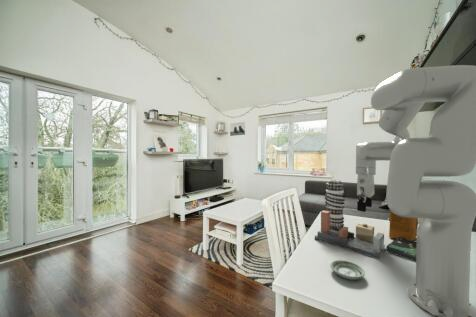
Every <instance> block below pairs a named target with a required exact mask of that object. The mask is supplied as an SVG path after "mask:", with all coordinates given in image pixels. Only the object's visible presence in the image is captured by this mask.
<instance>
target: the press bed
mask: <svg viewBox="0 0 476 317" xmlns="http://www.w3.org/2000/svg"><path fill="white" fill-rule="evenodd" d="M330 229H331V230H335V231H339V230H340V229H337V228H333V227H330ZM314 240H317V241H320V242H323V243H327V244H330V245H334V246H336V247H339V248H343V249H345V250H350V251H353V252H355V253H359V254H362V255H365V256H368V257H369V256H370V257H372V258H376V259H379V258H381V256H382V254H383V253H384V251H385V249H386V247H385V233H384V232H383V233H382V232H377V233H376V234H375V235H374V238H373V242H371V241H368V240H364V239H360V238H356V236H355V232H352V231H349V230H348V237H347V238H342V237H338V236H335V235H331V234H328V233H324V232H321V230H318V231H317V234H315V235H314Z"/></svg>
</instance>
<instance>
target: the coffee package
mask: <svg viewBox="0 0 476 317" xmlns="http://www.w3.org/2000/svg"><path fill="white" fill-rule="evenodd" d="M388 220H389V227H388V228H389V230H388V237H389V239H393V240H394V239H395V240H396V239H397V238H399V237H401V238H405V239H406V240H408V241H415V240H416V239H417V229H418V227H419V218H406V217H401V216H398V215H395V214H394V213H393V212H392V211H391V210H390V209H389V219H388Z"/></svg>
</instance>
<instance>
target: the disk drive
mask: <svg viewBox="0 0 476 317" xmlns="http://www.w3.org/2000/svg"><path fill="white" fill-rule="evenodd" d="M416 244H417V240H416V241H415V240H414V241H408V240H406V239H405V238H401V237H399V238H397V239H395V240H394V239H393V241H391V242H390V243H388V244H386V247H385V249H386V250H385V251H386V252H388V253H389V254H393V255H396V256H398V257H399V256H400V257H402V258H405V259H409V260H412V261H415V262H416Z"/></svg>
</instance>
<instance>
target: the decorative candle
mask: <svg viewBox="0 0 476 317" xmlns="http://www.w3.org/2000/svg"><path fill="white" fill-rule="evenodd" d="M325 184H326V188H325V192H326V193H325V194H324V196H325V197H324V200H325V201H324V203H325V204H324V206H325V207H326V209H325V211H329V212H330V227H333V228H337V229H342V228H343V227H345V223H344V222H345V220H344V219H345V217H344V208H345V206H344V205H345V201H346V200H345V199H344V197H346V195H345V194H346V192H345V191H344V183H343V182H342V181H341V180H337V179H330V180H328V181H327V182H326V183H325Z"/></svg>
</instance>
